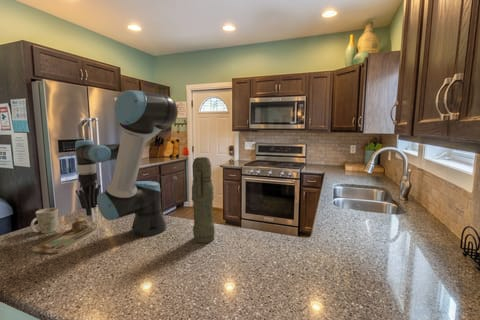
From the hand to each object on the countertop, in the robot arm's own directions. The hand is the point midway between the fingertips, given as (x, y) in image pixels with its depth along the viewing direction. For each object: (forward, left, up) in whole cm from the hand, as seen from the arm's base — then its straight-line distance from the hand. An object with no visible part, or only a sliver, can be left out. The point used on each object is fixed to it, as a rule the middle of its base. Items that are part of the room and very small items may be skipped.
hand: (91, 221), depth 118 cm
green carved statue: (-58, +4, -4) cm, 58 cm away
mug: (+18, +8, -4) cm, 20 cm away
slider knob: (-2, +7, -2) cm, 7 cm away
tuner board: (0, +14, -4) cm, 14 cm away
